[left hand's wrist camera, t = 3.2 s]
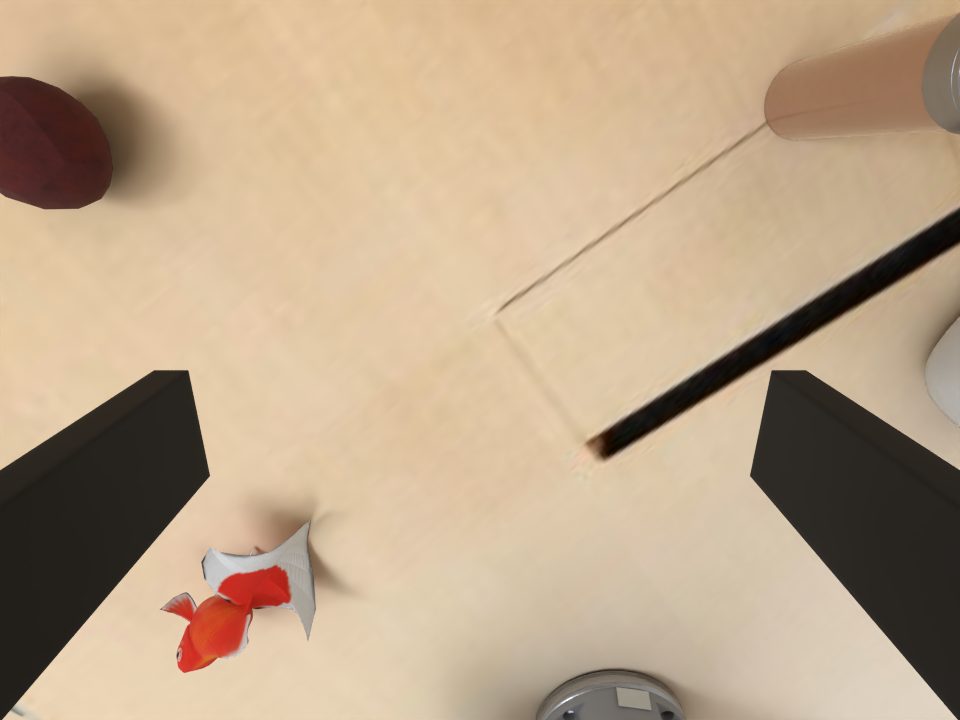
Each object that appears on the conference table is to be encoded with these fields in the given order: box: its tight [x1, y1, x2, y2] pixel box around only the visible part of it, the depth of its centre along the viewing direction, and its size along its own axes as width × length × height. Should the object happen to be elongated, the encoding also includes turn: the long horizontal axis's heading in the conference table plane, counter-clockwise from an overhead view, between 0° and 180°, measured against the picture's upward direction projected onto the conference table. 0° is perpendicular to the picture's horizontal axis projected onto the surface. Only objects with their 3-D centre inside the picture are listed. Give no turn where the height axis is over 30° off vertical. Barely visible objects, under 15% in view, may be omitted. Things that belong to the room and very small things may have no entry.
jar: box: [765, 11, 960, 140], centre depth 28 cm, size 5×5×15 cm
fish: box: [160, 521, 316, 673], centre depth 45 cm, size 11×16×10 cm
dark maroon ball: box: [0, 76, 113, 209], centre depth 33 cm, size 7×8×7 cm
